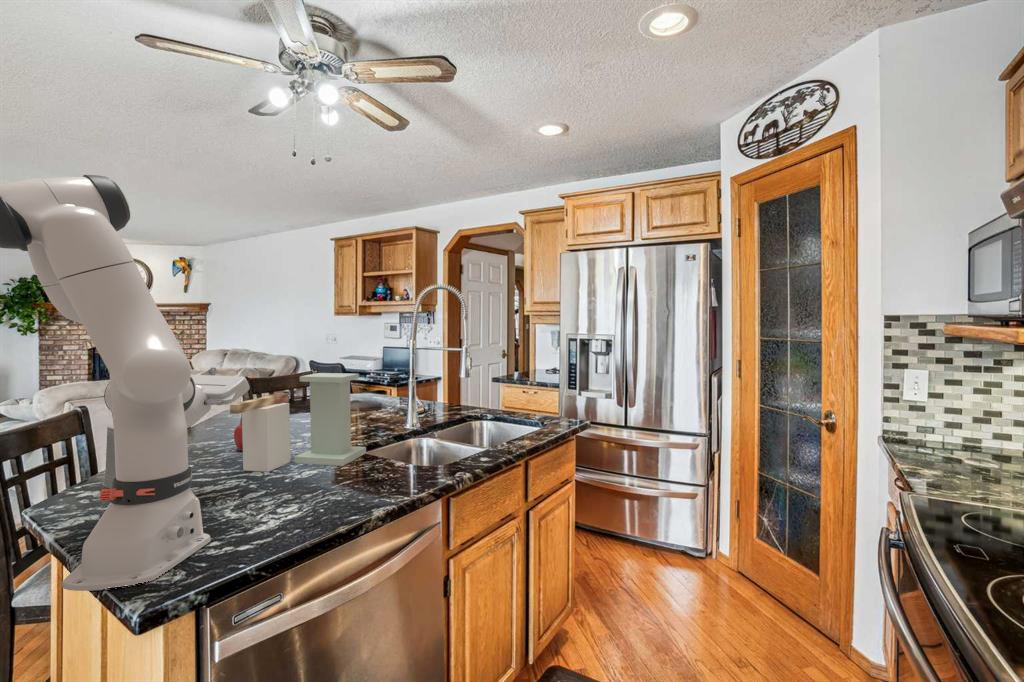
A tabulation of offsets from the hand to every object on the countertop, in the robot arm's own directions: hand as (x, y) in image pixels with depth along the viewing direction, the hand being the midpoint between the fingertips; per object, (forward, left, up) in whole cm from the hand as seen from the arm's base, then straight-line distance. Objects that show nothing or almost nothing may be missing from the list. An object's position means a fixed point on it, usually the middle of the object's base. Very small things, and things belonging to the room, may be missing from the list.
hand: (229, 370), depth 127 cm
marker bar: (+11, -3, -12) cm, 16 cm away
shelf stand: (+19, -21, -30) cm, 42 cm away
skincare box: (+1, +25, -30) cm, 39 cm away
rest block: (+14, -4, -30) cm, 33 cm away
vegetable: (+35, +7, -30) cm, 47 cm away
